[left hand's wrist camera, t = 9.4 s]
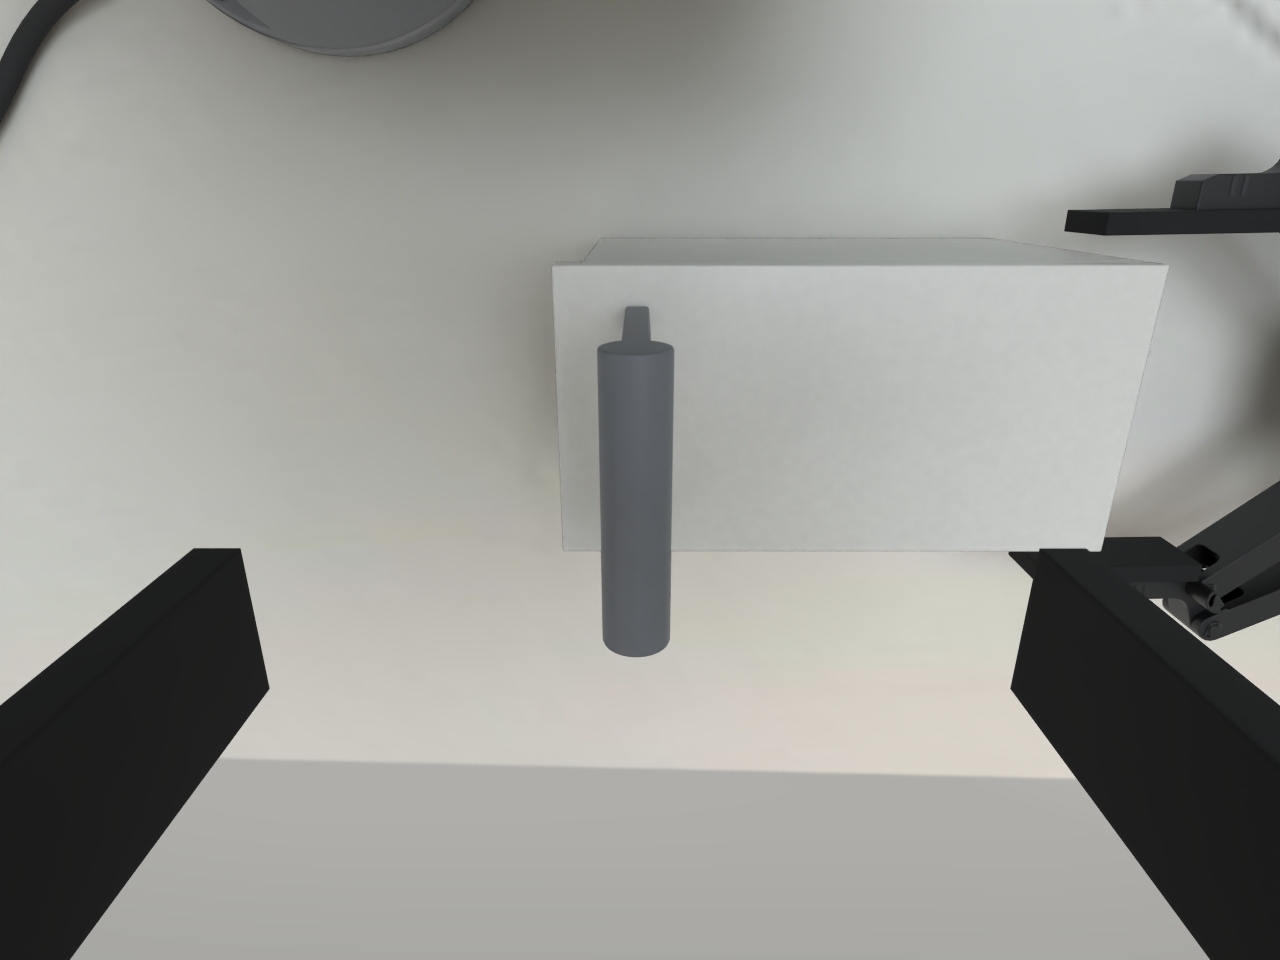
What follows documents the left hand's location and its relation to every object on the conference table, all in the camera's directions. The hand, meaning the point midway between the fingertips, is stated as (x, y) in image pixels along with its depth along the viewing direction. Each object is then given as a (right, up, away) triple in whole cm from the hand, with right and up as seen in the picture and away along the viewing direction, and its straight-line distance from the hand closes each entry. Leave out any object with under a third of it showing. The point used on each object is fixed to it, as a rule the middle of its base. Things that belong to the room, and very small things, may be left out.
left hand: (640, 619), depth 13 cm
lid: (+6, +5, +12) cm, 14 cm away
